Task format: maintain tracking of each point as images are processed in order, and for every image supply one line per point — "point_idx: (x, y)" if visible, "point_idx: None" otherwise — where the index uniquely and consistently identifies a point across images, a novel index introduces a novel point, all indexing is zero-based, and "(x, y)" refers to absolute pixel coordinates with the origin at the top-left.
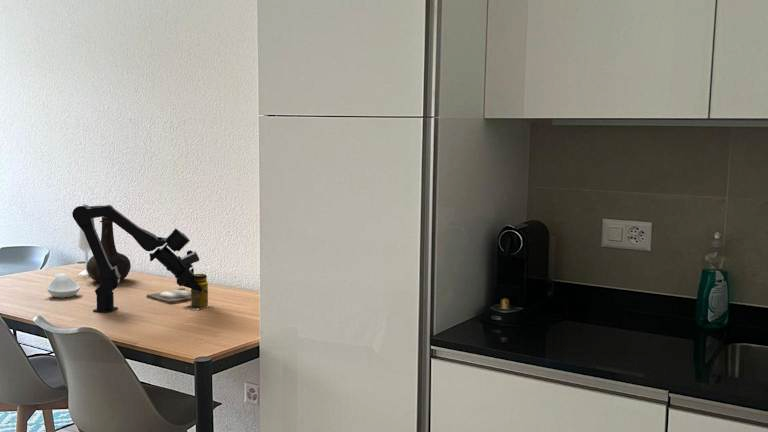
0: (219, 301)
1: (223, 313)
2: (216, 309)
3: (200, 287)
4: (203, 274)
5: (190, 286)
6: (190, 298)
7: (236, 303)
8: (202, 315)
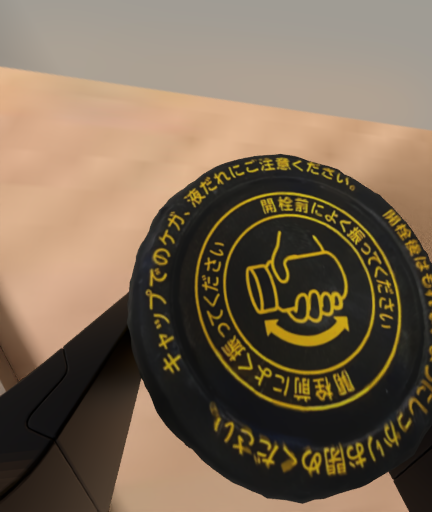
0: (109, 212)
1: None
2: None
3: None
4: (230, 198)
5: None
6: (9, 385)
7: (174, 147)
8: None
